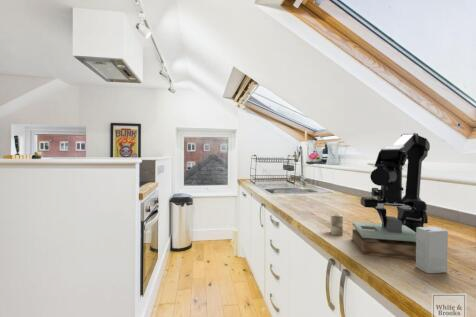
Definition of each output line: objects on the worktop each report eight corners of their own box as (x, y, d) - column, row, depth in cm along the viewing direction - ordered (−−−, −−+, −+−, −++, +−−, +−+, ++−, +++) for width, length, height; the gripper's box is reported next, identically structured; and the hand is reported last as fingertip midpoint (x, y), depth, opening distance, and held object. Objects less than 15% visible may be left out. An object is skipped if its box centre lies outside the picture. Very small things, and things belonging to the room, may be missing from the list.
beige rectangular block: (340, 232, 98) (340, 214, 98) (342, 235, 94) (342, 216, 94) (330, 231, 99) (330, 213, 99) (332, 235, 95) (332, 215, 95)
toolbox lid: (404, 228, 86) (404, 214, 86) (425, 242, 72) (425, 226, 72) (352, 225, 90) (352, 211, 90) (362, 237, 76) (363, 222, 76)
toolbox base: (404, 243, 86) (404, 232, 86) (425, 259, 72) (425, 247, 72) (352, 239, 90) (352, 228, 90) (362, 254, 77) (363, 242, 77)
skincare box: (433, 265, 69) (433, 225, 68) (448, 273, 64) (449, 230, 64) (414, 266, 68) (414, 226, 68) (428, 274, 64) (429, 231, 63)
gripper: (410, 181, 86) (410, 222, 86) (356, 180, 90) (356, 219, 91) (427, 185, 75) (427, 232, 75) (365, 183, 80) (364, 228, 80)
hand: (391, 227), depth 81 cm, fingers closed on toolbox lid, 4 cm apart
